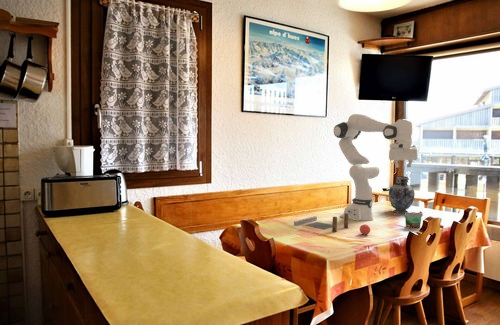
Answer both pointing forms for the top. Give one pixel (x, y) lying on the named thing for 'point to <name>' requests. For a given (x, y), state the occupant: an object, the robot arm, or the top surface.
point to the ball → (365, 229)
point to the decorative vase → (401, 195)
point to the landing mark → (320, 225)
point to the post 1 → (334, 224)
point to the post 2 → (346, 220)
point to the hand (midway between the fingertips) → (403, 167)
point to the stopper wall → (305, 220)
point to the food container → (413, 219)
